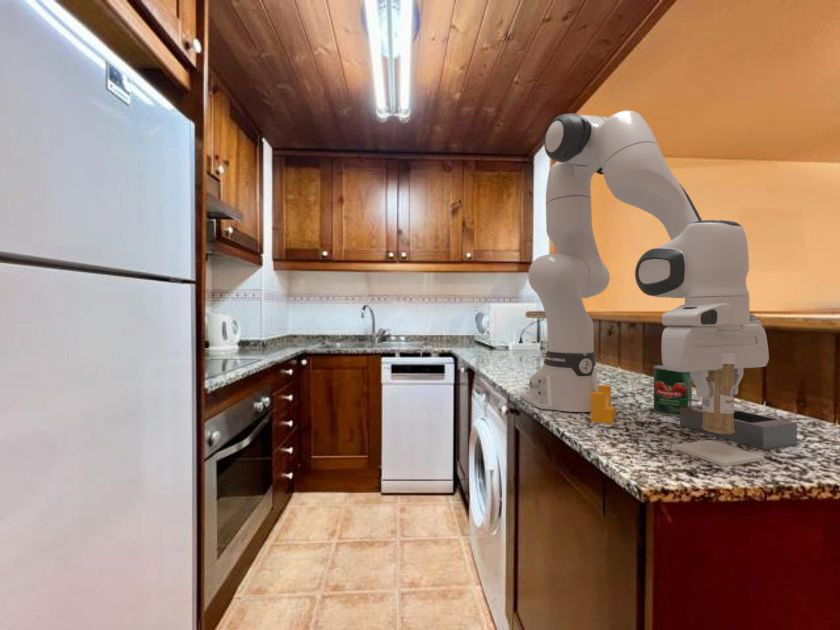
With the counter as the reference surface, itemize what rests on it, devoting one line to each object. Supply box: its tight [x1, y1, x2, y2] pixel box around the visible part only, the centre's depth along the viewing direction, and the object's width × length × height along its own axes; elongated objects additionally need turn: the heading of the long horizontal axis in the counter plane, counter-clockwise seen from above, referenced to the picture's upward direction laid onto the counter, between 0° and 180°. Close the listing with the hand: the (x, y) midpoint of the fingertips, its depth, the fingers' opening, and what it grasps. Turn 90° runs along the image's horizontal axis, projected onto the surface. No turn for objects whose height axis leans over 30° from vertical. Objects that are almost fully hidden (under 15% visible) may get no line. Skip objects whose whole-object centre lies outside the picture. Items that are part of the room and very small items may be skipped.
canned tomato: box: [653, 364, 693, 417], centre depth 96 cm, size 8×8×11 cm
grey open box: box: [679, 404, 798, 451], centre depth 79 cm, size 16×9×4 cm, turn 17°
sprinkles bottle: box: [701, 353, 736, 434], centre depth 68 cm, size 5×5×13 cm
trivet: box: [671, 439, 766, 468], centre depth 68 cm, size 9×9×1 cm
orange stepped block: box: [590, 384, 617, 425], centre depth 93 cm, size 12×4×6 cm, turn 148°
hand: (717, 395), depth 68 cm, fingers closed on sprinkles bottle, 4 cm apart
